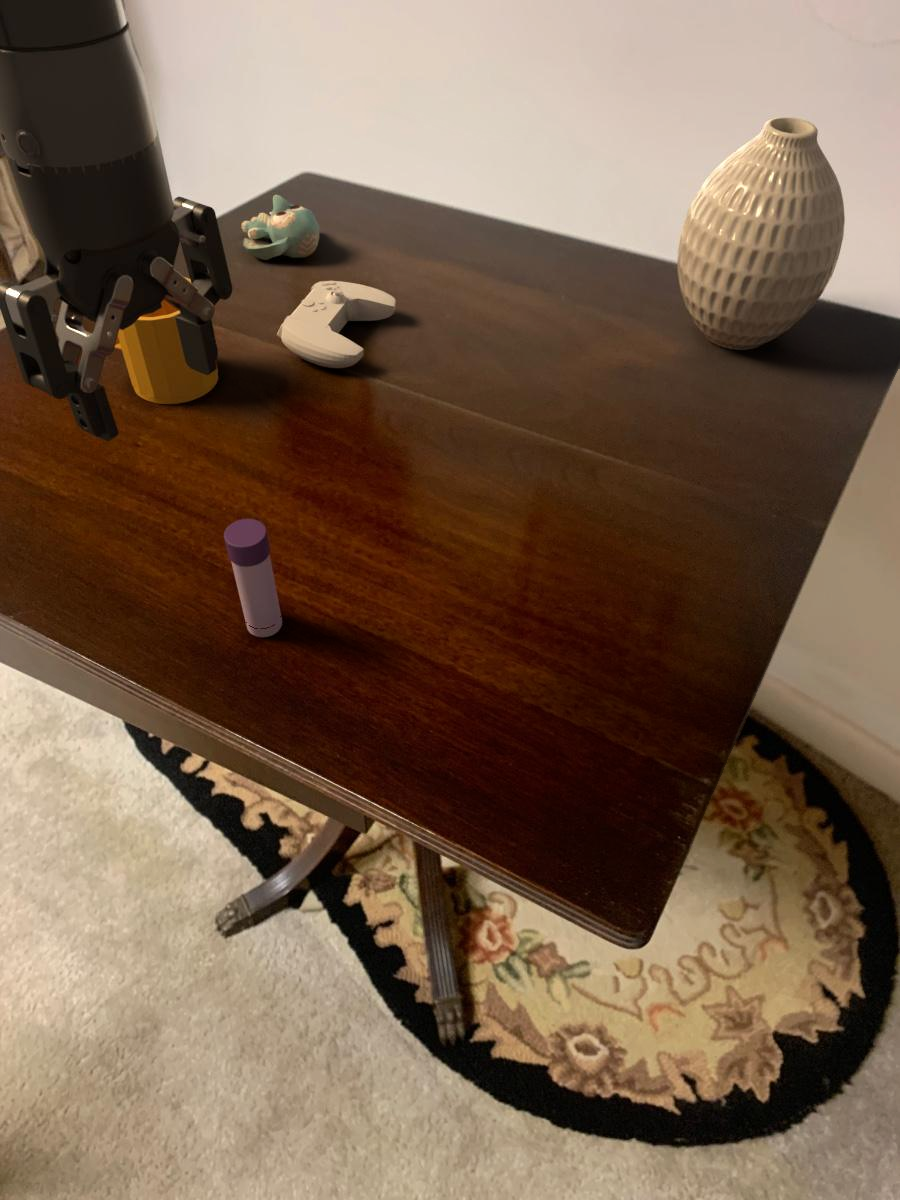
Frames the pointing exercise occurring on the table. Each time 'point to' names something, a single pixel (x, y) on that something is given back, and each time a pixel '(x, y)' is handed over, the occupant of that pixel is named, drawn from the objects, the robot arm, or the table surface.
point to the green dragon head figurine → (282, 231)
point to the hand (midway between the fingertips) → (154, 400)
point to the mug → (161, 360)
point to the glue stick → (254, 575)
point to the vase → (761, 237)
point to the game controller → (333, 322)
